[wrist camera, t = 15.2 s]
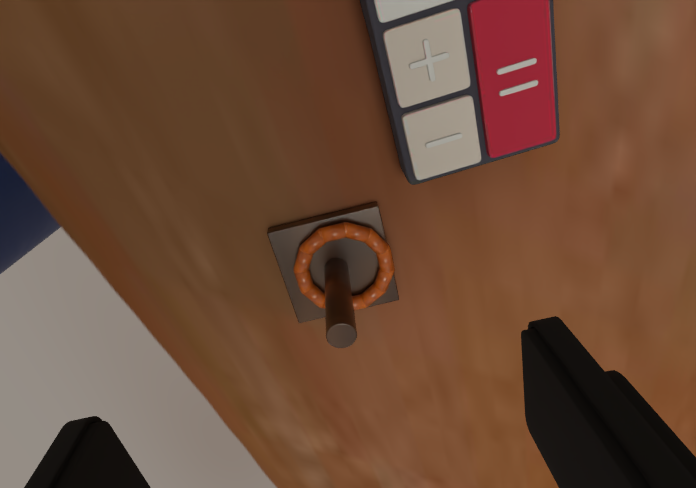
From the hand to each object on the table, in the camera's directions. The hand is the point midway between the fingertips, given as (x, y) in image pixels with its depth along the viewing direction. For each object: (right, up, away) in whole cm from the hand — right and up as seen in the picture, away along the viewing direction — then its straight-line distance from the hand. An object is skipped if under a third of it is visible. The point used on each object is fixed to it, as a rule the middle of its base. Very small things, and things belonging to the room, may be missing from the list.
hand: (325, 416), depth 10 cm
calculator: (+8, +17, +21) cm, 28 cm away
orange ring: (0, +2, +26) cm, 26 cm away
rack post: (0, +2, +28) cm, 28 cm away
